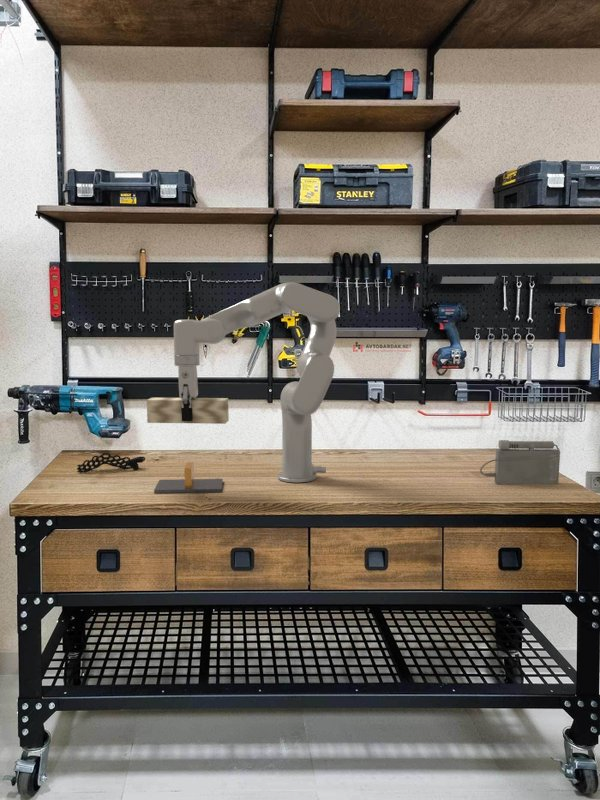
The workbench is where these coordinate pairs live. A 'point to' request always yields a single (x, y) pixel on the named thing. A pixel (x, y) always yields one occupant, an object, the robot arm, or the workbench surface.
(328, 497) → the workbench surface
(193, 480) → the stand
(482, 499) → the workbench surface
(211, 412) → the maple bar
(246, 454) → the workbench surface
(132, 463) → the decorative element
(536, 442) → the geiger counter
